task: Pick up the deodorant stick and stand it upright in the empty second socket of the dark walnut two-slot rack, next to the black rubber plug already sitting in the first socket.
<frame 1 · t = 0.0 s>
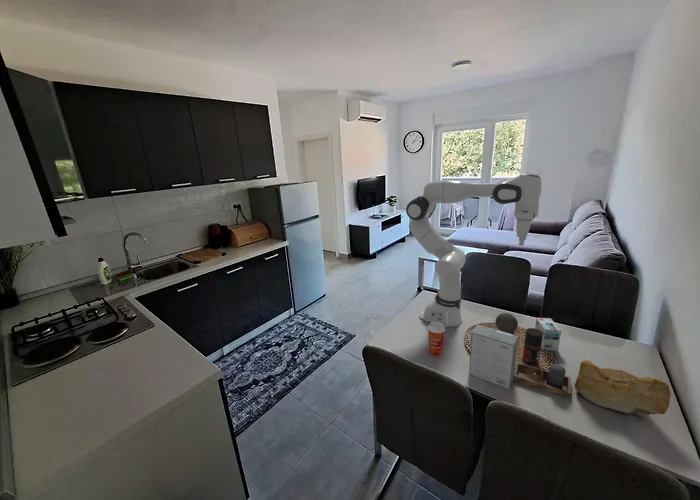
hand: (522, 242, 131), 48 cm above the table, fingers open, 8 cm apart
rough brown rock: (615, 400, 105), on the table
red and orange canister: (435, 352, 136), on the table
deodorant: (529, 362, 126), on the table
hard drive box: (490, 376, 120), on the table
black rubber plug: (554, 385, 112), point 1 cm above the table, touching walnut rack
light bulb box: (545, 344, 138), on the table
decorative ball: (505, 331, 149), on the table
walnut rack: (540, 382, 115), on the table
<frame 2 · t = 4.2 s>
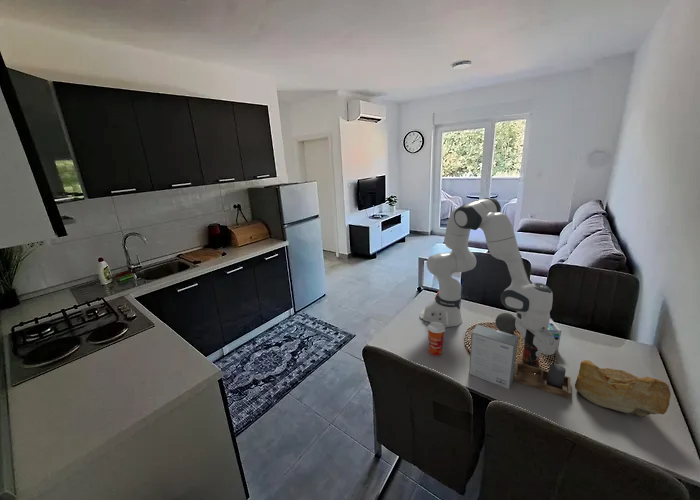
hand: (531, 350, 124), 6 cm above the table, fingers closed on deodorant, 6 cm apart
deodorant: (529, 362, 126), on the table, touching gripper
everything else where it was.
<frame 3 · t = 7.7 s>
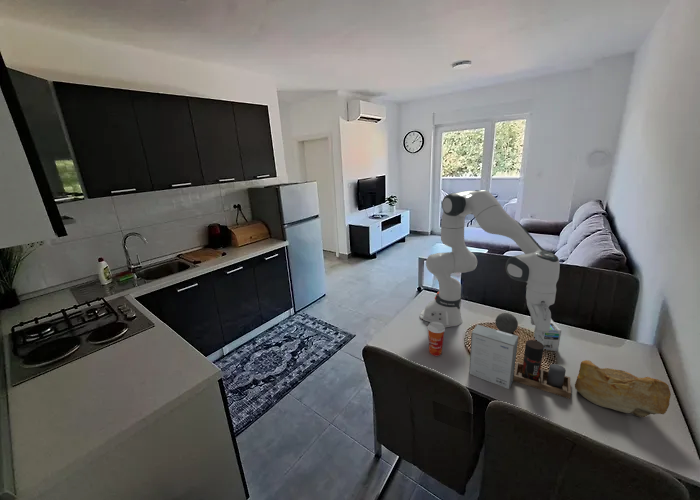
hand: (535, 328, 110), 23 cm above the table, fingers open, 5 cm apart
deodorant: (530, 376, 117), point 1 cm above the table
everything else where it was.
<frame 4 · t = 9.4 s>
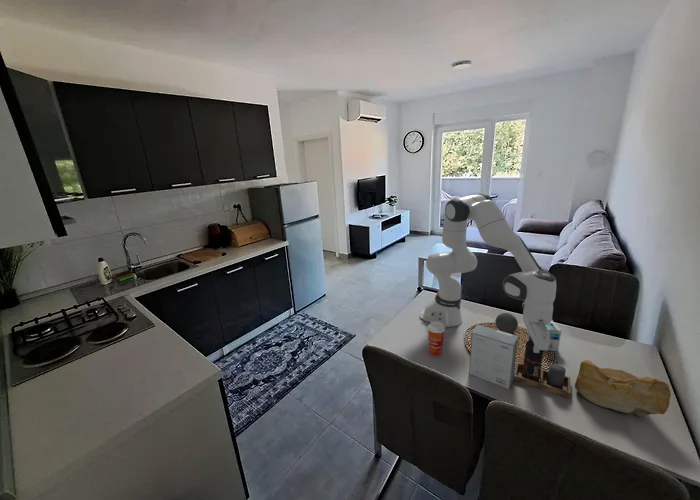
hand: (533, 345, 112), 16 cm above the table, fingers open, 6 cm apart
deodorant: (530, 377, 117), resting on walnut rack, touching gripper
everything else where it was.
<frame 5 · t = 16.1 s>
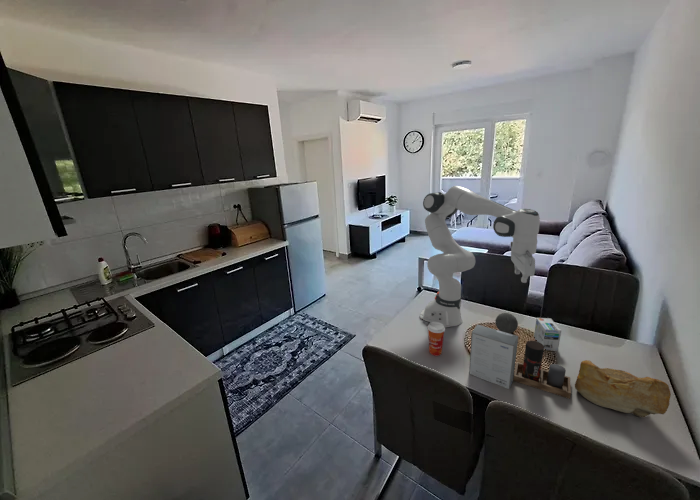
hand: (520, 277, 128), 34 cm above the table, fingers open, 8 cm apart
deodorant: (530, 377, 117), resting on walnut rack
everything else where it was.
at the end: deodorant 1.0 cm from the target spot on the walnut rack, point 0.4 cm above the walnut rack's base; deodorant tilted 0°; the gripper is holding nothing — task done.
